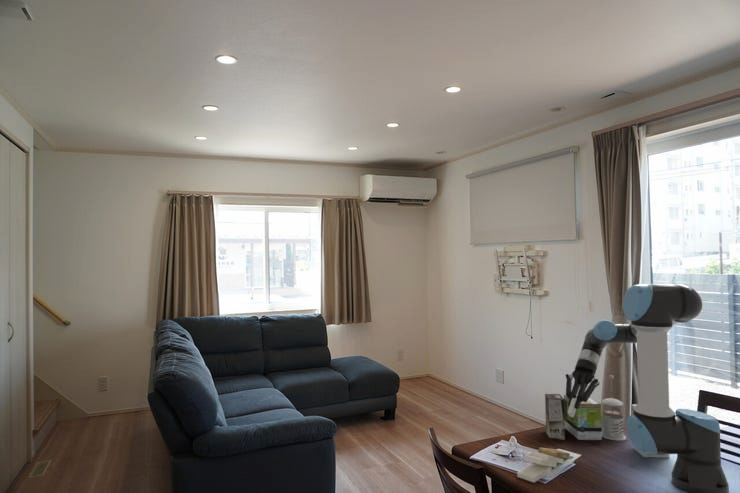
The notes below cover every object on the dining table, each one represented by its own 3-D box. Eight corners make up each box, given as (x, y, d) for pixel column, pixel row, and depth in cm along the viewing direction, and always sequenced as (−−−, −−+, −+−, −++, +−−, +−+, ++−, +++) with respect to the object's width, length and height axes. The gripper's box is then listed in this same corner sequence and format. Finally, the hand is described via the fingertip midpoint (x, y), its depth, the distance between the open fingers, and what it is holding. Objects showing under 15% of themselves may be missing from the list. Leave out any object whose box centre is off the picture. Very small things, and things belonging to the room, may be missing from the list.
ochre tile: (553, 448, 180) (538, 447, 172) (569, 453, 176) (554, 452, 168) (553, 453, 180) (538, 452, 172) (569, 458, 175) (554, 457, 168)
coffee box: (565, 440, 195) (564, 399, 195) (548, 439, 196) (548, 399, 196) (561, 432, 203) (560, 393, 204) (545, 431, 205) (544, 393, 205)
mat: (558, 450, 184) (558, 448, 184) (581, 456, 178) (581, 454, 178) (525, 470, 167) (525, 468, 167) (550, 478, 161) (549, 476, 161)
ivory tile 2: (540, 457, 172) (524, 454, 164) (556, 462, 168) (541, 459, 160) (539, 462, 172) (524, 459, 164) (556, 467, 167) (540, 464, 160)
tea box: (602, 440, 194) (601, 403, 194) (577, 440, 194) (576, 403, 195) (586, 427, 209) (586, 393, 209) (563, 427, 209) (562, 393, 210)
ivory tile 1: (547, 454, 175) (532, 451, 168) (563, 458, 171) (548, 455, 164) (546, 458, 175) (531, 455, 167) (562, 463, 171) (547, 460, 163)
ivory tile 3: (534, 461, 169) (517, 472, 161) (551, 466, 165) (534, 477, 156) (534, 466, 169) (517, 476, 161) (551, 471, 165) (534, 482, 156)
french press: (594, 434, 201) (592, 373, 202) (613, 429, 206) (612, 370, 206) (615, 442, 192) (613, 378, 193) (634, 437, 197) (633, 375, 198)
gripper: (606, 371, 192) (591, 424, 180) (574, 366, 201) (557, 416, 189) (601, 360, 188) (584, 413, 176) (568, 356, 197) (550, 405, 185)
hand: (570, 414), depth 183 cm, fingers closed
